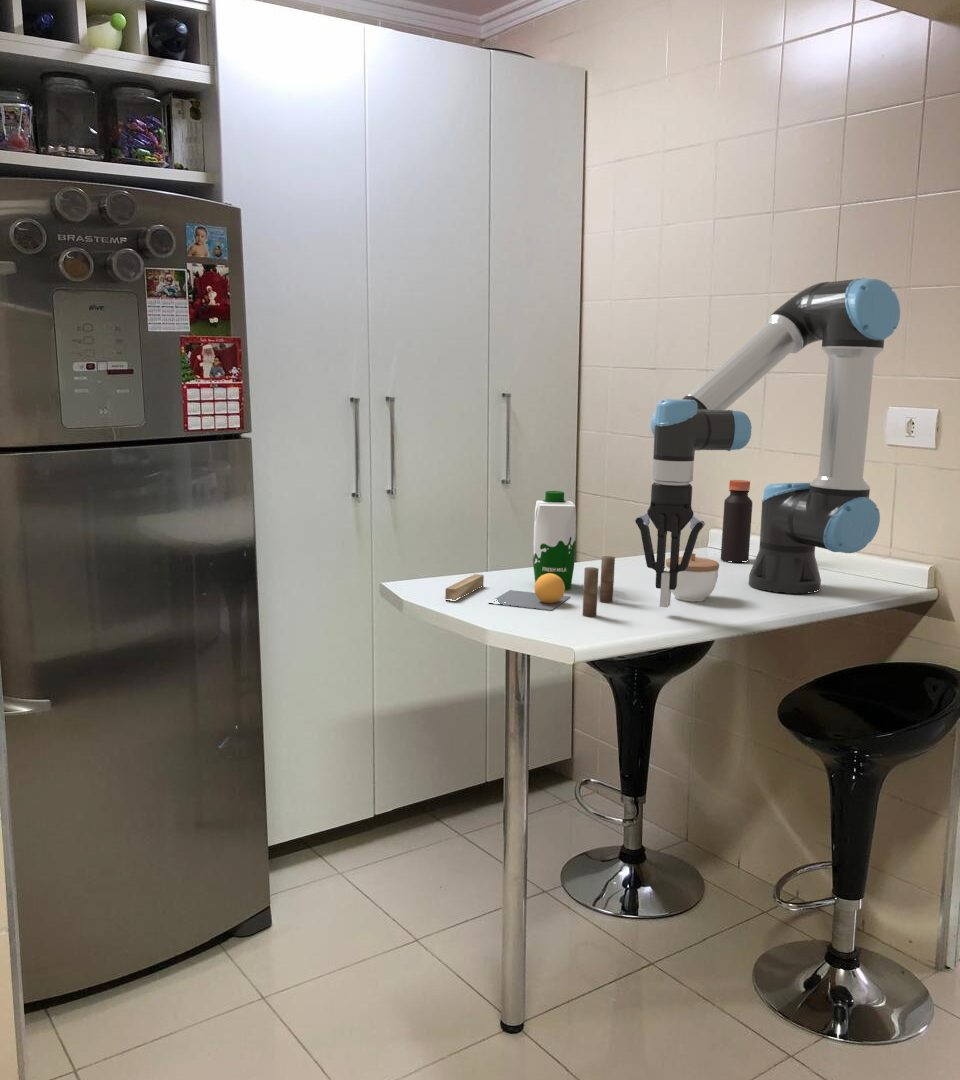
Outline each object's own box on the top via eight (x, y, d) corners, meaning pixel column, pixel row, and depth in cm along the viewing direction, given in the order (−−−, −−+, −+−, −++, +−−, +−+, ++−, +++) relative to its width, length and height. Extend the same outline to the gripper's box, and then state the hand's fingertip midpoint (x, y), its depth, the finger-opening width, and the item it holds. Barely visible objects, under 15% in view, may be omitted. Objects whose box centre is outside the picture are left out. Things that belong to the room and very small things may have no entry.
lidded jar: (716, 594, 214) (719, 550, 212) (717, 606, 203) (720, 559, 202) (664, 591, 216) (667, 547, 214) (662, 602, 206) (665, 556, 204)
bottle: (754, 562, 252) (760, 481, 249) (734, 564, 248) (740, 482, 245) (734, 557, 258) (739, 478, 254) (714, 559, 254) (719, 479, 251)
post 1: (597, 614, 193) (600, 568, 192) (594, 617, 191) (596, 570, 190) (584, 613, 194) (586, 566, 193) (581, 615, 192) (583, 569, 190)
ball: (559, 565, 203) (533, 577, 205) (552, 571, 197) (525, 583, 199) (572, 593, 203) (546, 604, 205) (565, 599, 197) (539, 611, 200)
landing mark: (570, 597, 207) (570, 596, 207) (551, 610, 195) (551, 609, 195) (510, 590, 212) (510, 590, 212) (488, 603, 200) (488, 602, 200)
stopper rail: (483, 586, 216) (483, 574, 215) (454, 601, 201) (454, 589, 200) (474, 585, 216) (474, 574, 216) (445, 600, 201) (445, 588, 201)
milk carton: (570, 582, 223) (574, 491, 219) (575, 591, 214) (579, 496, 210) (530, 581, 222) (533, 490, 219) (533, 590, 213) (537, 495, 210)
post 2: (614, 600, 206) (616, 556, 204) (611, 603, 203) (613, 558, 202) (601, 599, 206) (603, 555, 205) (598, 601, 204) (600, 557, 203)
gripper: (710, 482, 191) (702, 605, 195) (641, 478, 196) (635, 598, 200) (704, 486, 184) (696, 613, 188) (633, 482, 189) (626, 606, 193)
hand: (665, 605), depth 194 cm, fingers closed
